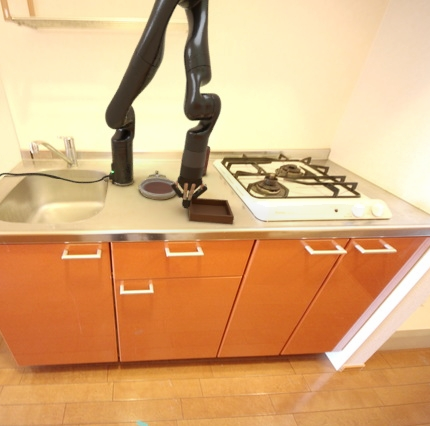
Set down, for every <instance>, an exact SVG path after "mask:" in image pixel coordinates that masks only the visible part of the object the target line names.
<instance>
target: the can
mask: <svg viewBox="0 0 430 426" xmlns="http://www.w3.org/2000/svg"><path fill="white" fill-rule="evenodd" d="M210 154H211V147H210V146H209V145H208V146H207V151H206V162H205V165H204V170H203V175H202V178H203V177H205V176H206V175H207V171H208V165H209V159H210Z"/></svg>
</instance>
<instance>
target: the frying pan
mask: <svg viewBox="0 0 430 426" xmlns="http://www.w3.org/2000/svg"><path fill="white" fill-rule="evenodd" d="M159 172H160V171H159V170H158V169H156V170H155V173H153V174H148V178H146V179H142V180H141V181H140V182H139V184H138V190H139V191H140V193H141V195H142V196H144V197H146V198H147V199H152V200H159V201H160V200H167V199H171V198H173V197H175V195H177V194H176V193H175V191H174V190H173V188H172V187H171V182H173V181H174V180H172V179H170V178H167V176H166V174H159Z"/></svg>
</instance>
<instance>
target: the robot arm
mask: <svg viewBox="0 0 430 426" xmlns="http://www.w3.org/2000/svg"><path fill="white" fill-rule="evenodd" d="M209 1H210V0H154V3H153V6H152V9H151V12H150V13H149V17H148V19H147V21H146V24H145V26H144V28H143V31H142V33H141V36H140V38H139V40H138V42H137V44H136V47H135V48H134V50H133V53H132V55H131V57H130V60H129V63H128V65H127V68H126V69H125V71H124V74H123V76H122V78H121V80H120V83H119V85H118V87H117V90H116V91H115V93H114V94H113V96H112V98H111V100H110V102H109V104H108V105H107V106H106V109H105V113H104V120H105V124H106V125H107V127H108V128H110V130H115V131H114V133H113V135H112V136H111V138H110V149H111V150H110V151H111V162H110V172H109V174H107V175H104V176H103V177H101V178H100V179H97V180H91V181H79V180H78V181H77V180H73V179H68V178H64V177H61V176H56V175H54V174H49V173H43V172H42V173H41V172H27V173H26V172H23V173H12V172H2V173H0V177H2V176H4V175H7V176H31V175H35V176H37V175H38V176H46V177H51V178H55V179H59V180H61V181H64V182H65V181H66V182H69V183H74V184H93V183H98V182H102V181H103V180H104V179H106V178H108V181H111V183H112V185H115V186H120V187H127V186H130V185H132V184H134V140H135V136H136V112H135V108H134V107H133V104H134V102H135V101H136V99H137V98H138V97H139V96H140V95H141V94H142V93H143V92H144V90H146V88H147V87H148V86H149V85H150V84H151V83H152V81H153V79H154V78H155V76H156V75H157V72H158V71H159V68H160V67H161V65H162V63H163V60H164V57H165V51H166V49H165V48H166V36H167V30H168V26H169V23H170V21H171V18H172V17H173V14H174V12H175V10H176V9H177V6H179V7H180V8H182V9H183V10H184V12H185V16H186V20H187V35H186V39H185V44H184V47H183V66H184V74H185V89H184V98H183V106H182V107H183V114H184V116H185V118H186V119H187V120H188V121H191V122H198V123H197V125H195V126H193V127H191V128H188V129H187V131H186V133H185V139H184V146H183V151H182V153H181V162H180V168H179V175H178V177H177V179H176V180H175V181H174V180H172V181H173V182H171V187H172V188H173V190H174V191H175V193H176V194H175V195H176V196H177V197H178V198H179V199H182V201H181V206H182V208H183V209H188V207H190V203H191V200H192V199H197V198H200V196H202V195H203V194H205V192H206V191H208V185H207V184H206V183H204V182H203V181H204V180H203V177H202V175H203V170H204V165H205V162H206V151H207V146H209V141H210V137H211V135H212V132H213V130H214V128H215V127H216V125H217V121H218V119H219V118H220V115H221V112H222V100H221V97H220V96H219V95H218V93H215V92H201V88H203V87H204V86H207V85H208V84H209V83H210V82H211V81H212V77H213V72H212V63H211V55H210V45H209V44H210V43H209V5H210V4H209V3H210V2H209ZM179 186H180V188H181V190H182V191H181V190H180V188H179Z"/></svg>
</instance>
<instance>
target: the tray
mask: <svg viewBox="0 0 430 426" xmlns="http://www.w3.org/2000/svg"><path fill="white" fill-rule="evenodd" d="M187 211H188V221H189V222H201V223H215V224H227V225H232V224H233V222H234V218H235V215H234V213H233V211H232V207H231V206H230V202H229V200H228V199H220V198H219V199H218V198H206V197H205V198H204V197H198V198H197V199H192V200H191V203H190V207H188V210H187Z"/></svg>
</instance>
